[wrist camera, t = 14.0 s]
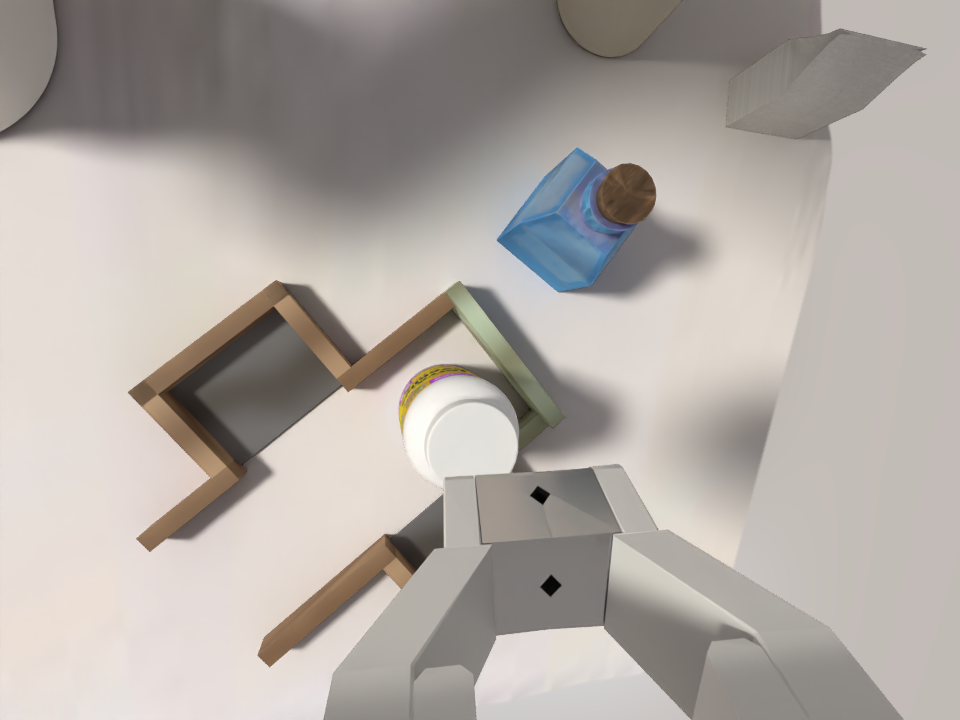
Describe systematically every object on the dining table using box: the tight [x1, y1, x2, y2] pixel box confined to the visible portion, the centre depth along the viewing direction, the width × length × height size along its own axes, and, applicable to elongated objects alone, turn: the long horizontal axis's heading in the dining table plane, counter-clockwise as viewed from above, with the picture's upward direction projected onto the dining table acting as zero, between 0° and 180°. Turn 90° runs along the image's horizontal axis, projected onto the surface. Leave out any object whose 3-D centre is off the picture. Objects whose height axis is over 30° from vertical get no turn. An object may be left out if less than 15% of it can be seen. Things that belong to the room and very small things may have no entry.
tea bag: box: [726, 29, 926, 139], centre depth 36 cm, size 4×7×10 cm, turn 86°
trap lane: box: [128, 280, 566, 667], centre depth 35 cm, size 27×27×3 cm
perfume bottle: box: [497, 148, 656, 292], centre depth 32 cm, size 6×6×12 cm
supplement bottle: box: [399, 364, 519, 489], centre depth 31 cm, size 7×7×13 cm
